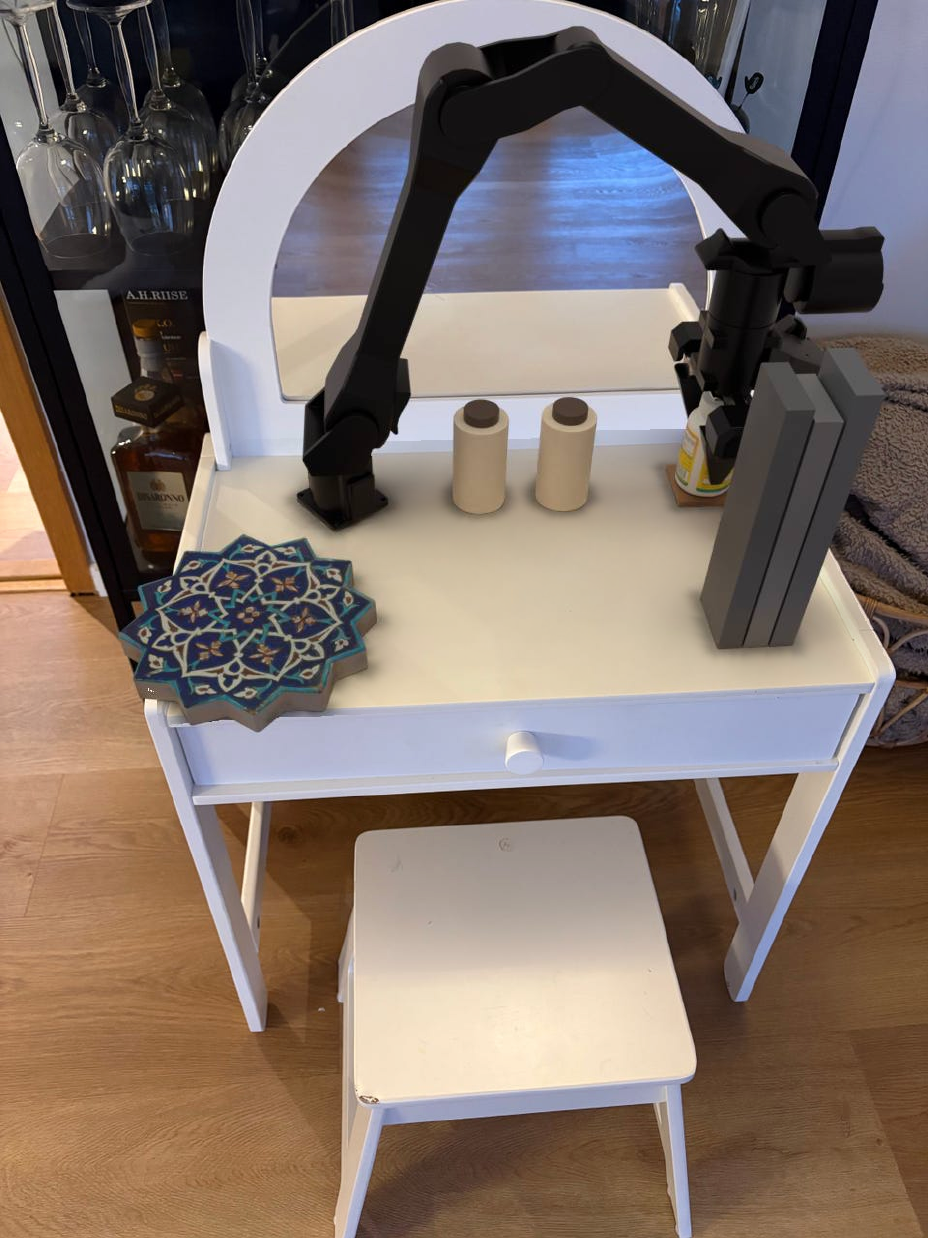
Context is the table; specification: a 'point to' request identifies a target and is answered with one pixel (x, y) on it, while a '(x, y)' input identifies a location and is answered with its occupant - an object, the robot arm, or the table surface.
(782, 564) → the grey grooved column
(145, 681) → the decorative tile
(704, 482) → the supplement bottle
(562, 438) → the cream bottle
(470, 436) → the cream bottle
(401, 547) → the table surface
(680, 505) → the oak coaster
